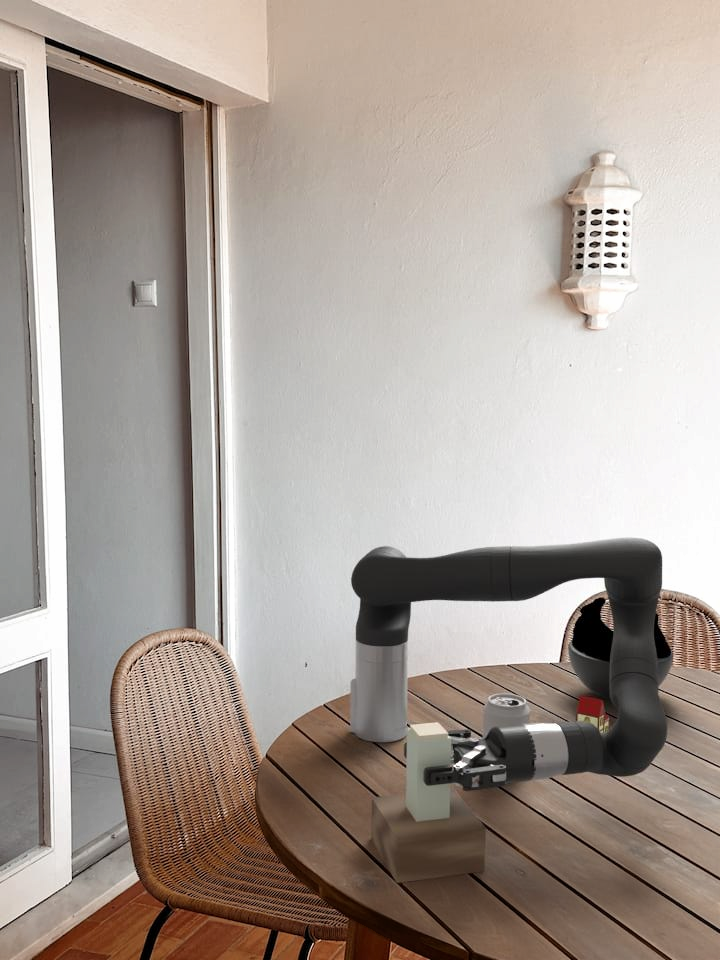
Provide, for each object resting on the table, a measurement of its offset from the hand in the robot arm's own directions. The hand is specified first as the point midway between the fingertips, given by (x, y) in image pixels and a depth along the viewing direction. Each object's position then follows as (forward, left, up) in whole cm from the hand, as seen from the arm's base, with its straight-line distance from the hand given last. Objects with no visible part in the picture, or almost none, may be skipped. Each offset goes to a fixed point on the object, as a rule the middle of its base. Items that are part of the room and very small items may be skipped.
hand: (414, 763), depth 131 cm
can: (-4, +32, -13) cm, 35 cm away
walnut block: (+1, +1, -13) cm, 13 cm away
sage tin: (+1, +2, -7) cm, 7 cm away
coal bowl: (-3, +76, -13) cm, 78 cm away
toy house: (0, +55, -14) cm, 57 cm away
